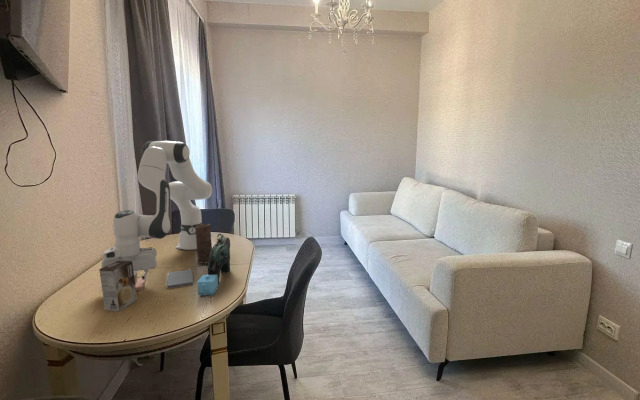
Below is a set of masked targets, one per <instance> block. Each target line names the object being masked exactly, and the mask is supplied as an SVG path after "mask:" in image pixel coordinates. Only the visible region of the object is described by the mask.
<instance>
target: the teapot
mask: <svg viewBox="0 0 640 400" xmlns="http://www.w3.org/2000/svg"><path fill="white" fill-rule="evenodd" d="M218 288H219V284H218V275H208V274H202V275H201V277H199V279H198V280H197V295H198V296H201V297H204V296H210V297H211V296H215V294H216V292H217V290H218Z"/></svg>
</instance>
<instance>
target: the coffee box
mask: <svg viewBox="0 0 640 400" xmlns="http://www.w3.org/2000/svg"><path fill="white" fill-rule="evenodd" d="M98 271H99V275H100V283H101V290H102V296H103V297H102V298H103V304H104V306H103V307H104V310H105V311H110V312H111V311H112V312H113V311H114V312H121V311H122V310H124V309H125V308H127V307H128V306H130V305H131V304H133V303H135V302H136V301H137V300H138V299H137V298H138V297H137V290H136V288H135V280H134V272H133V264H132V261H116V262H114V263H112V264H110V265H107V266H105V267H103V268H99V269H98Z"/></svg>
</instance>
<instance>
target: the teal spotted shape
mask: <svg viewBox="0 0 640 400" xmlns="http://www.w3.org/2000/svg"><path fill="white" fill-rule="evenodd" d="M216 236H217V238H216V240H217V241H216V243H215V244H214V245H212V250H211V252H210V255H209V259H208V263H207V275H218V285H219V284H220V275H221V274H229V272H230V271H231V263H230V261H231V249H230V248H231V240H230V238H229V237H226V236H224V234H221V233H218V234H217V235H216ZM219 236H220V237H219Z"/></svg>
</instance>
